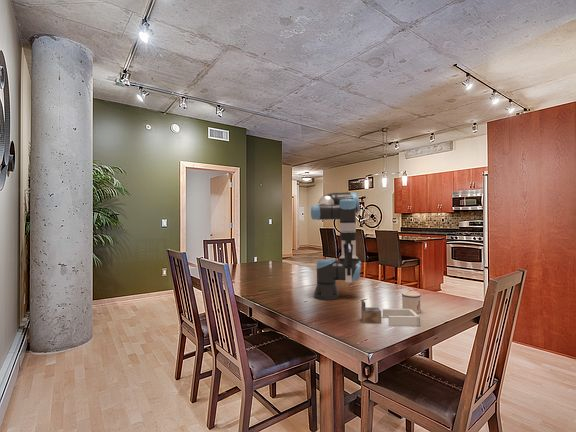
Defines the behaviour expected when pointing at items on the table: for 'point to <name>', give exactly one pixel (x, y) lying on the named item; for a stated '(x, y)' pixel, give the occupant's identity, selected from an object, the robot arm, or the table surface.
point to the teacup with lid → (411, 300)
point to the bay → (401, 317)
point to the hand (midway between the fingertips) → (348, 282)
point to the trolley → (370, 314)
